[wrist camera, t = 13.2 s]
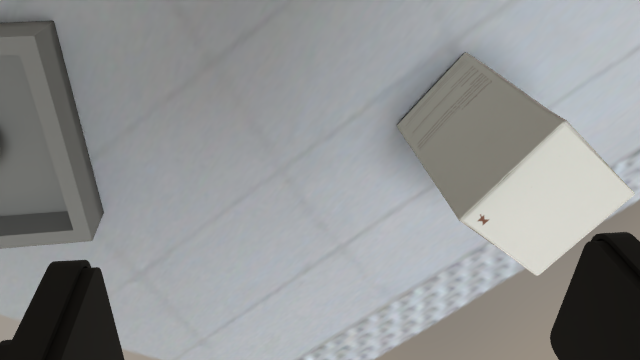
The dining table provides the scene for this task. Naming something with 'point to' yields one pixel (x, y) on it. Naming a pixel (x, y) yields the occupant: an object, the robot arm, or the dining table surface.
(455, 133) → the supplement box
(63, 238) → the tray
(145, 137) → the dining table surface
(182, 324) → the dining table surface
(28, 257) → the dining table surface
